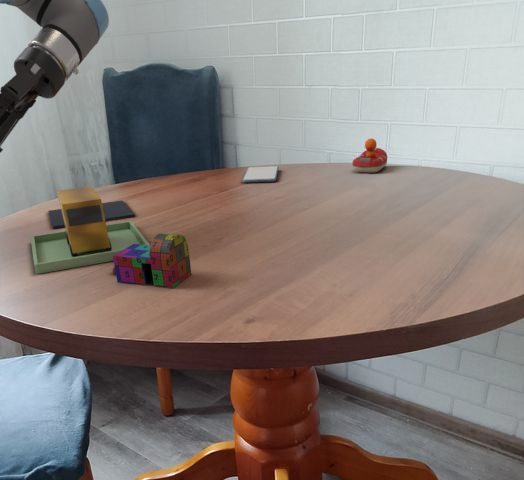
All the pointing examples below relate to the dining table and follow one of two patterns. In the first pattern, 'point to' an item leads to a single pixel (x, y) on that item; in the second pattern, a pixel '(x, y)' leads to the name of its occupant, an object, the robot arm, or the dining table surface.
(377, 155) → the toy boat
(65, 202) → the toy van
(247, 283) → the dining table surface
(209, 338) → the dining table surface
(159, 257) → the block
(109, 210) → the mat
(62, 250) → the box
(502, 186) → the dining table surface
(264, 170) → the smartphone
